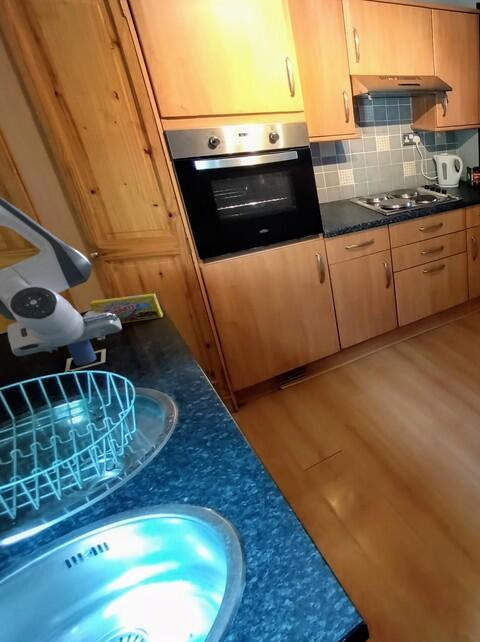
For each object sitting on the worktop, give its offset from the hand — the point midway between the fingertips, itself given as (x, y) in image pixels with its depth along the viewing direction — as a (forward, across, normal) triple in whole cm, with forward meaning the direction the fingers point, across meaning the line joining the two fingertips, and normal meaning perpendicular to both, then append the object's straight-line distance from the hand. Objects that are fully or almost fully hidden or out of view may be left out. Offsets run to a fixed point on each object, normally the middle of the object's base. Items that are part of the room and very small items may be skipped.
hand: (77, 342), depth 120 cm
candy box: (+18, -10, -10) cm, 23 cm away
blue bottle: (+4, 0, +4) cm, 6 cm away
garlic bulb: (+19, -3, -11) cm, 23 cm away
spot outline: (+4, 0, +4) cm, 6 cm away
